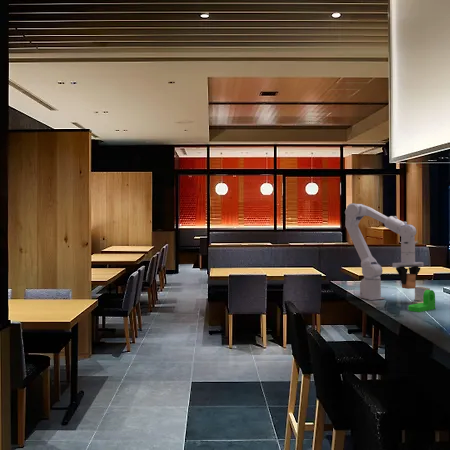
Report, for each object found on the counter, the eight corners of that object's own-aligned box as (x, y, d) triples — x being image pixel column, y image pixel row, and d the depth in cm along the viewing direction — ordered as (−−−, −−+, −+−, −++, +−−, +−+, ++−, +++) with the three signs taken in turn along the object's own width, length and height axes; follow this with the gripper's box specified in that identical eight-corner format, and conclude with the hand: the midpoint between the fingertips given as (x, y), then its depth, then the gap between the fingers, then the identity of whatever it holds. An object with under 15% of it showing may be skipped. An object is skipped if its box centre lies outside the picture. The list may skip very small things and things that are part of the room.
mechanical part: (421, 307, 211) (421, 288, 211) (435, 309, 206) (435, 289, 206) (405, 310, 203) (405, 290, 203) (419, 312, 198) (419, 292, 198)
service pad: (411, 304, 217) (411, 301, 217) (422, 303, 219) (422, 301, 219) (423, 306, 210) (423, 304, 210) (434, 306, 212) (434, 303, 212)
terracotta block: (401, 287, 221) (401, 274, 221) (409, 287, 223) (409, 273, 223) (407, 288, 218) (407, 274, 218) (415, 288, 219) (415, 274, 219)
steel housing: (413, 301, 226) (413, 286, 226) (420, 300, 227) (420, 286, 227) (424, 303, 219) (424, 288, 219) (431, 303, 220) (431, 288, 220)
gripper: (399, 253, 214) (399, 285, 214) (428, 252, 219) (428, 284, 219) (389, 252, 221) (389, 283, 221) (417, 251, 225) (417, 282, 225)
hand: (408, 283), depth 220 cm, fingers closed on terracotta block, 4 cm apart
